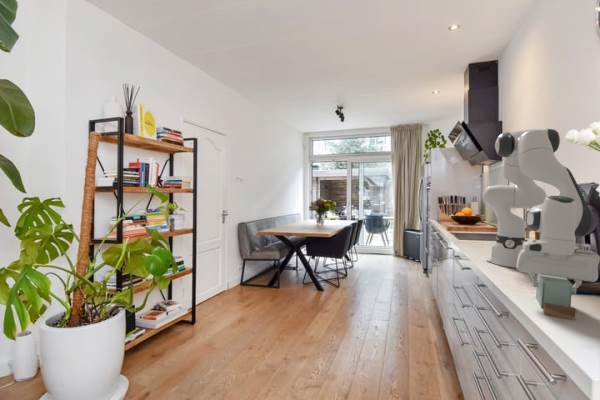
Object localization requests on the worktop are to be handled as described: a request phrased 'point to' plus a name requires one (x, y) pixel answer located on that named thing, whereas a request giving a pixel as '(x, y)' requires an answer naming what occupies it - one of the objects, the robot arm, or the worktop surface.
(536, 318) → the worktop surface
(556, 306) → the strip
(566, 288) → the sage green upright block
